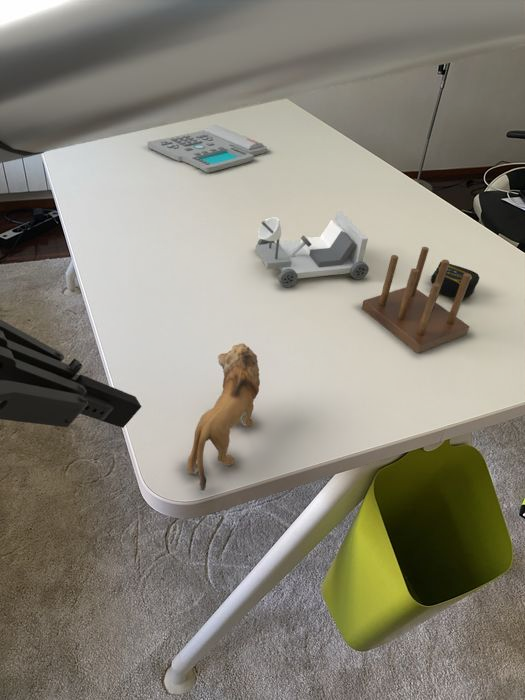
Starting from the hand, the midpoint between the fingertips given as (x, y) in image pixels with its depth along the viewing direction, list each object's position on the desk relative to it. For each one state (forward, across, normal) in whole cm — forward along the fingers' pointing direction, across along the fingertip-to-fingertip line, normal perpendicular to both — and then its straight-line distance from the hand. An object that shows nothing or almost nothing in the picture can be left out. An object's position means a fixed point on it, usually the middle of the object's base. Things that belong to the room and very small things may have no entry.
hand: (129, 412), depth 51 cm
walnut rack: (+39, -7, +27) cm, 47 cm away
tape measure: (+47, -11, +35) cm, 60 cm away
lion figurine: (+13, 0, +1) cm, 13 cm away
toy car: (+35, -27, +22) cm, 49 cm away
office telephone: (+43, -80, +30) cm, 95 cm away
